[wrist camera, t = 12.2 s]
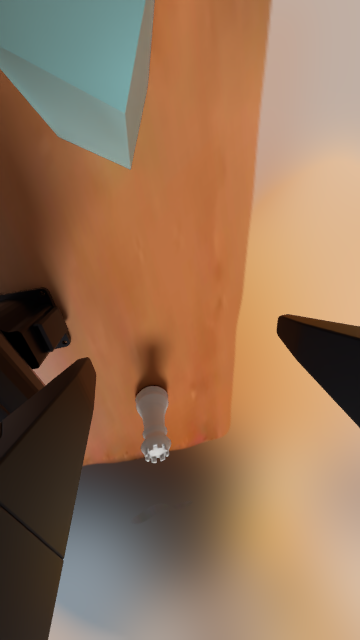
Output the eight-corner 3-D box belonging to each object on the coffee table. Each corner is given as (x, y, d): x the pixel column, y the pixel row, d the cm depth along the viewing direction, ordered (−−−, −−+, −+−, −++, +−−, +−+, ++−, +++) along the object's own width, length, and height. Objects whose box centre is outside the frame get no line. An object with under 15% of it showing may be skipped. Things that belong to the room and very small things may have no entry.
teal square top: (130, 169, 16) (124, 113, 8) (58, 136, 15) (-36, 27, 7) (147, 86, 14) (161, -89, 6) (67, 37, 13) (-48, -279, 5)
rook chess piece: (130, 391, 26) (127, 451, 19) (161, 379, 26) (170, 434, 19) (142, 412, 28) (144, 473, 21) (171, 400, 28) (183, 458, 21)
